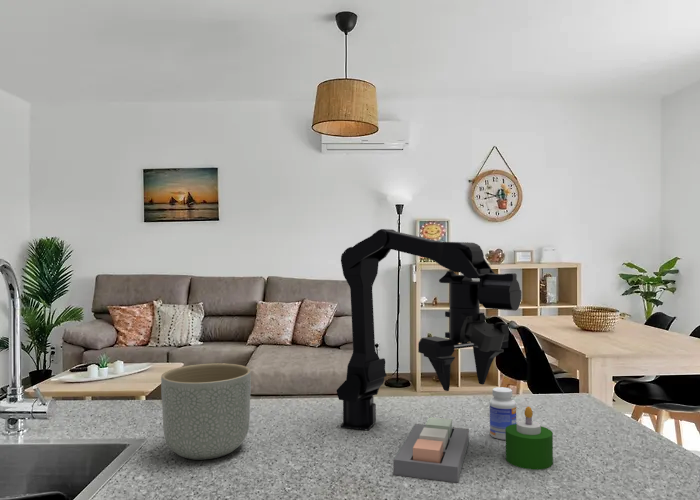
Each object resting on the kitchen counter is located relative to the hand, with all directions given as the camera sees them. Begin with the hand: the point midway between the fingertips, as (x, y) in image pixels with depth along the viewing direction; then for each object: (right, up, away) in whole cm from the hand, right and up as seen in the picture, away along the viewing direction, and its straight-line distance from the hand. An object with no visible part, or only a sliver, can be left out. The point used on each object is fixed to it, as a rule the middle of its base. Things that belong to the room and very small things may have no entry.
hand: (464, 387), depth 104 cm
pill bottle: (+10, -13, +8) cm, 18 cm away
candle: (+11, -13, -5) cm, 17 cm away
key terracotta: (-8, -10, -9) cm, 16 cm away
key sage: (-4, -10, +3) cm, 11 cm away
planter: (-50, -13, +1) cm, 52 cm away
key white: (-6, -10, -3) cm, 12 cm away
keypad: (-6, -12, -3) cm, 14 cm away
